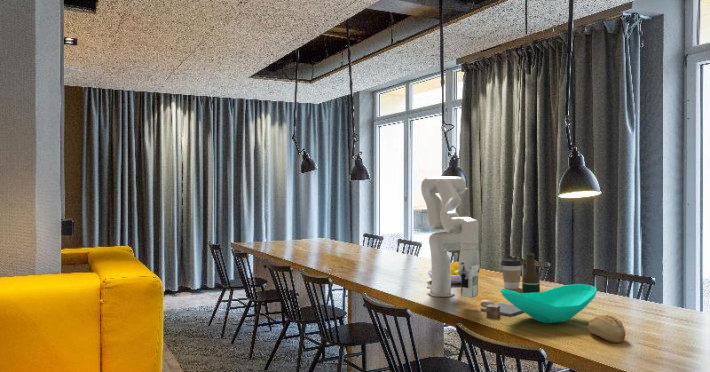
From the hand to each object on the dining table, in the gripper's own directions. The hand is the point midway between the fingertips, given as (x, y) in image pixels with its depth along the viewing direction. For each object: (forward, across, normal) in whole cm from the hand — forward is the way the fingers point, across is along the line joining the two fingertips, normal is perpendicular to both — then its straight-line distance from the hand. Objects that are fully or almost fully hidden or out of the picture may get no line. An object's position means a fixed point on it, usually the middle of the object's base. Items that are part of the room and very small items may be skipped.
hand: (469, 285), depth 251 cm
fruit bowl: (+13, -46, -45) cm, 66 cm away
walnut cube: (+9, +6, +16) cm, 20 cm away
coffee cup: (+12, -53, -12) cm, 56 cm away
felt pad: (+10, -6, +14) cm, 18 cm away
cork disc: (+11, -10, +2) cm, 15 cm away
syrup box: (+5, 0, 0) cm, 5 cm away
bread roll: (+8, +6, +64) cm, 65 cm away
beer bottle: (+10, -21, +18) cm, 30 cm away
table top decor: (+9, -2, +38) cm, 39 cm away
